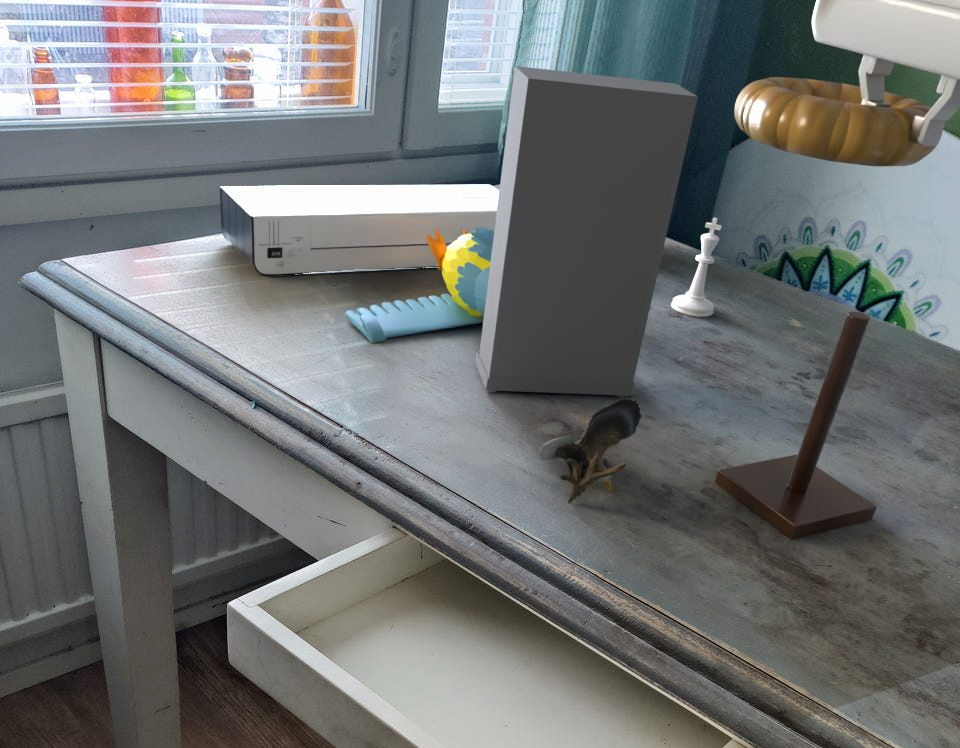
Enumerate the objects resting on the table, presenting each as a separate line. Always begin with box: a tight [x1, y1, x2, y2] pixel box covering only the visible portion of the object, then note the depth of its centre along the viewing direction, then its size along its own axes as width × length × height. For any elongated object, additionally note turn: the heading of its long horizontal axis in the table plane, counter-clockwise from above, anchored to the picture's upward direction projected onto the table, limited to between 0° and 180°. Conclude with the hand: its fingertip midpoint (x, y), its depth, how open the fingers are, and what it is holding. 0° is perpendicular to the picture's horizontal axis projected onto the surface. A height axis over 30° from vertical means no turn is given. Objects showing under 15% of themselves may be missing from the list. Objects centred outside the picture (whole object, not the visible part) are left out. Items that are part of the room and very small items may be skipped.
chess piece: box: [670, 217, 722, 318], centre depth 110 cm, size 5×5×10 cm
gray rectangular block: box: [474, 65, 699, 398], centre depth 85 cm, size 14×6×25 cm, turn 100°
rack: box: [714, 311, 878, 540], centre depth 75 cm, size 9×9×15 cm
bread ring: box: [733, 76, 943, 167], centre depth 80 cm, size 16×16×4 cm
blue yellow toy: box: [345, 227, 494, 343], centre depth 100 cm, size 28×9×15 cm
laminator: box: [219, 183, 500, 278], centre depth 113 cm, size 34×12×6 cm, turn 118°
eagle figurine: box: [538, 397, 643, 504], centre depth 76 cm, size 8×7×9 cm
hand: (894, 135), depth 76 cm, fingers closed on bread ring, 4 cm apart
